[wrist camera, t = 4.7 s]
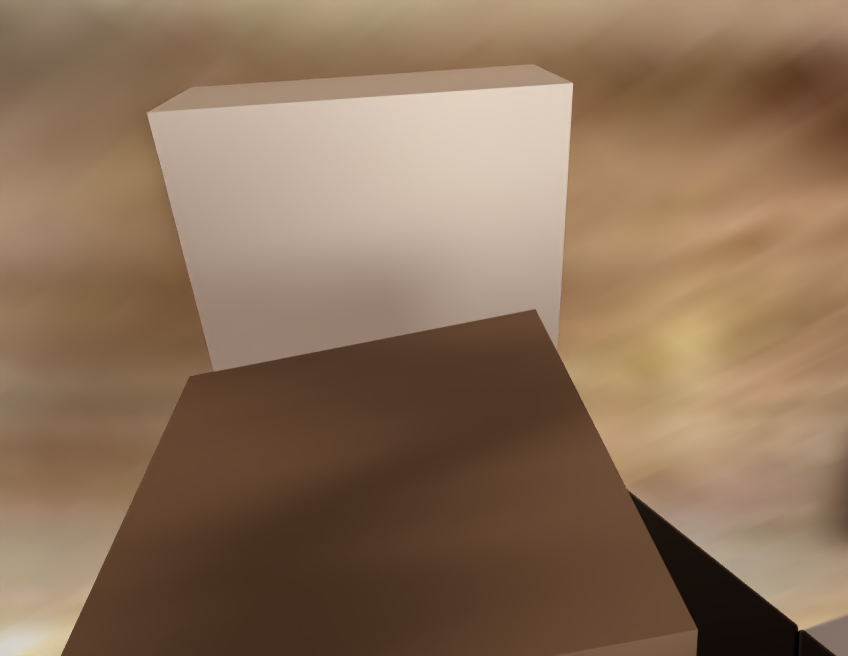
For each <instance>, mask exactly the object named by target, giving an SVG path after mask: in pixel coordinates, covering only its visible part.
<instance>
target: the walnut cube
mask: <svg viewBox="0 0 848 656" xmlns="http://www.w3.org/2000/svg"><path fill="white" fill-rule="evenodd" d="M697 635H698V629H697V627H696V625H695V623H694V621H693V619H692V617H691V615H690V613H689V611H688V609H687V607H686V605H685V603H684V601H683V599H682V597H681V595H680V593H679V591H678V589H677V587H676V585H675V583H674V581H673V580H672V578H671V576H670V574H669V572H668V570H667V568H666V566H665V564H664V562H663V560H662V558H661V556H660V554H659V552H658V550H657V548H656V546H655V544H654V542H653V540H652V538H651V536H650V534H649V532H648V530H647V528H646V526H645V524H644V522H643V520H642V518H641V516H640V514H639V512H638V510H637V508H636V506H635V504H634V502H633V500H632V499H631V497H630V495H629V493H628V491H627V489H626V487H625V485H624V483H623V481H622V479H621V477H620V475H619V473H618V471H617V469H616V467H615V465H614V463H613V461H612V459H611V457H610V455H609V453H608V451H607V449H606V447H605V445H604V443H603V441H602V439H601V437H600V435H599V433H598V431H597V429H596V427H595V425H594V423H593V421H592V420H591V418H590V416H589V414H588V412H587V410H586V408H585V406H584V404H583V402H582V400H581V398H580V396H579V394H578V392H577V390H576V388H575V386H574V384H573V382H572V380H571V378H570V376H569V374H568V372H567V370H566V368H565V366H564V364H563V362H562V360H561V358H560V356H559V354H558V352H557V350H556V348H555V346H554V344H553V342H552V341H551V339H550V337H549V335H548V333H547V331H546V329H545V327H544V325H543V323H542V321H541V319H540V317H539V315H538V313H537V311H536V309H533V310H528V311H523V312H518V313H513V314H508V315H503V316H498V317H492V318H487V319H482V320H477V321H472V322H467V323H462V324H457V325H451V326H446V327H441V328H436V329H431V330H426V331H421V332H415V333H410V334H405V335H400V336H395V337H390V338H385V339H380V340H374V341H369V342H364V343H359V344H354V345H349V346H344V347H339V348H333V349H328V350H323V351H318V352H313V353H308V354H303V355H297V356H292V357H287V358H282V359H277V360H272V361H267V362H262V363H256V364H251V365H246V366H241V367H236V368H231V369H226V370H221V371H215V372H210V373H205V374H200V375H195V376H190V377H189V379H188V382H187V384H186V386H185V388H184V390H183V392H182V395H181V397H180V399H179V401H178V403H177V405H176V408H175V410H174V412H173V414H172V416H171V418H170V421H169V423H168V425H167V427H166V429H165V431H164V434H163V436H162V438H161V440H160V442H159V444H158V447H157V449H156V451H155V453H154V455H153V457H152V460H151V462H150V464H149V466H148V468H147V470H146V473H145V475H144V477H143V479H142V481H141V483H140V486H139V488H138V490H137V492H136V494H135V496H134V499H133V501H132V503H131V505H130V507H129V509H128V512H127V514H126V516H125V518H124V520H123V522H122V525H121V527H120V529H119V531H118V533H117V535H116V538H115V540H114V542H113V544H112V546H111V548H110V551H109V553H108V555H107V557H106V559H105V561H104V564H103V566H102V568H101V570H100V572H99V574H98V577H97V579H96V581H95V583H94V585H93V587H92V590H91V592H90V594H89V596H88V598H87V600H86V603H85V605H84V607H83V609H82V611H81V613H80V616H79V618H78V620H77V622H76V624H75V626H74V629H73V631H72V633H71V635H70V637H69V639H68V642H67V644H66V646H65V648H64V650H63V652H62V655H61V656H696V653H697Z"/></svg>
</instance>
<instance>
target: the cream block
mask: <svg viewBox="0 0 848 656" xmlns="http://www.w3.org/2000/svg"><path fill="white" fill-rule="evenodd" d="M572 93H573V83H572V82H570V81H568V80H566V79H563V78H561V77H559V76H557V75H555V74H553V73H551V72H549V71H547V70H545V69H543V68H540V67H538V66H536V65H534V64H530V65H515V66H500V67H485V68H470V69H455V70H441V71H426V72H411V73H396V74H381V75H366V76H352V77H337V78H322V79H307V80H292V81H277V82H262V83H248V84H233V85H218V86H203V87H191V88H189V89H187V90H185V91H184V92H182V93H180V94H178V95H177V96H175V97H173V98H171V99H170V100H168V101H166V102H164V103H163V104H161V105H159V106H157V107H156V108H154V109H152V110H150V111H149V112H147V115H148V119H149V123H150V127H151V131H152V135H153V138H154V142H155V146H156V150H157V154H158V158H159V162H160V166H161V170H162V173H163V177H164V181H165V185H166V189H167V193H168V197H169V201H170V204H171V208H172V212H173V216H174V220H175V224H176V228H177V232H178V235H179V239H180V243H181V247H182V251H183V255H184V259H185V263H186V267H187V270H188V274H189V278H190V282H191V286H192V290H193V294H194V298H195V301H196V305H197V309H198V313H199V317H200V321H201V325H202V329H203V332H204V336H205V340H206V344H207V348H208V352H209V356H210V360H211V364H212V367H213V371H214V372H215V371H221V370H226V369H231V368H236V367H241V366H246V365H251V364H256V363H262V362H267V361H272V360H277V359H282V358H287V357H292V356H297V355H303V354H308V353H313V352H318V351H323V350H328V349H333V348H339V347H344V346H349V345H354V344H359V343H364V342H369V341H374V340H380V339H385V338H390V337H395V336H400V335H405V334H410V333H415V332H421V331H426V330H431V329H436V328H441V327H446V326H451V325H457V324H462V323H467V322H472V321H477V320H482V319H487V318H492V317H498V316H503V315H508V314H513V313H518V312H523V311H528V310H533V309H536V311H537V313H538V315H539V317H540V319H541V321H542V323H543V325H544V327H545V329H546V331H547V333H548V335H549V337H550V339H551V341H552V342H553V344H554V346H555V348H556V350H557V352H558V336H559V319H560V301H561V284H562V267H563V249H564V232H565V215H566V197H567V180H568V162H569V145H570V128H571V110H572Z"/></svg>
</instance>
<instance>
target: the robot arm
mask: <svg viewBox="0 0 848 656" xmlns="http://www.w3.org/2000/svg"><path fill="white" fill-rule="evenodd" d="M627 491H628V490H627ZM628 493H629V495H630V497H631V499H632V500H633V502H634V504H635V506H636V508H637V510H638V512H639V514H640V516H641V518H642V520H643V522H644V524H645V526H646V528H647V530H648V532H649V534H650V536H651V538H652V540H653V542H654V544H655V546H656V548H657V550H658V552H659V554H660V556H661V558H662V560H663V562H664V564H665V566H666V568H667V570H668V572H669V574H670V576H671V578H672V580H673V581H674V583H675V585H676V587H677V589H678V591H679V593H680V595H681V597H682V599H683V601H684V603H685V605H686V607H687V609H688V611H689V613H690V615H691V617H692V619H693V621H694V623H695V625H696V627H697V629H698V635H697V653H696V656H836V655H834V654H833V653H832V652H831V651H829V650H828V649H827V648H826V647H824V646H823V645H822V644H821V643H819V642H818V641H817V640H816V639H814V638H813V637H812V636H811V635H809V634H808V633H807V632H806V631H804V630H799V632H798V626H797V625H796V624H795V623H794V622H793V621H792V620H790V619H789V618H788V617H787V616H785V615H784V614H783V613H782V612H780V611H779V610H778V609H777V608H775V607H774V606H773V605H771V604H770V603H769V602H768V601H766V600H765V599H764V598H763V597H761V596H760V595H759V594H758V593H756V592H755V591H754V590H753V589H751V588H750V587H749V586H748V585H746V584H745V583H744V582H743V581H741V580H740V579H739V578H738V577H736V576H735V575H734V574H733V573H731V572H730V571H729V570H728V569H726V568H725V567H724V566H723V565H721V564H720V563H719V562H718V561H716V560H715V559H714V558H713V557H711V556H710V555H709V554H707V553H706V552H705V551H704V550H702V549H701V548H700V547H699V546H697V545H696V544H695V543H694V542H692V541H691V540H690V539H689V538H687V537H686V536H685V535H684V534H682V533H681V532H680V531H679V530H677V529H676V528H675V527H674V526H672V525H671V524H670V523H669V522H667V521H666V520H665V519H664V518H662V517H661V516H660V515H659V514H657V513H656V512H655V511H654V510H652V509H651V508H650V507H649V506H647V505H646V504H645V503H644V502H642V501H641V500H640V499H638V498H637V497H636V496H635V495H633V494H632V493H631V492H630V491H628Z"/></svg>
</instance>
